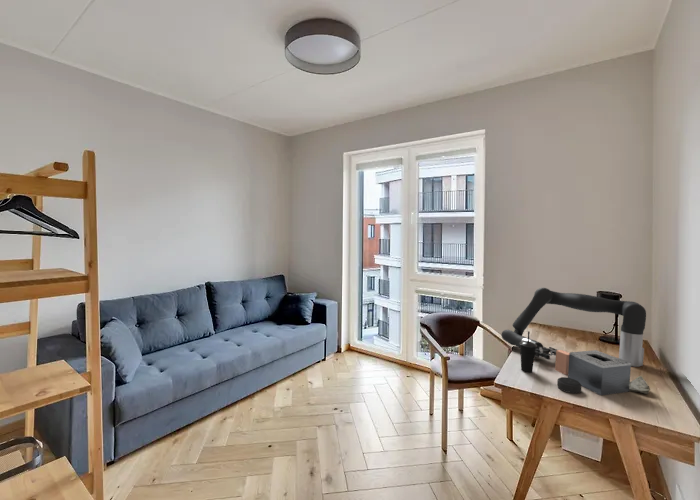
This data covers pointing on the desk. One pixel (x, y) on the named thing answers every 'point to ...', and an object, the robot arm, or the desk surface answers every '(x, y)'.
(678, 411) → the desk surface
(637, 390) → the rock sample
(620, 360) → the coin box
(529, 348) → the drinking cup
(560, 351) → the salmon orange block
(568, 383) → the smart speaker
